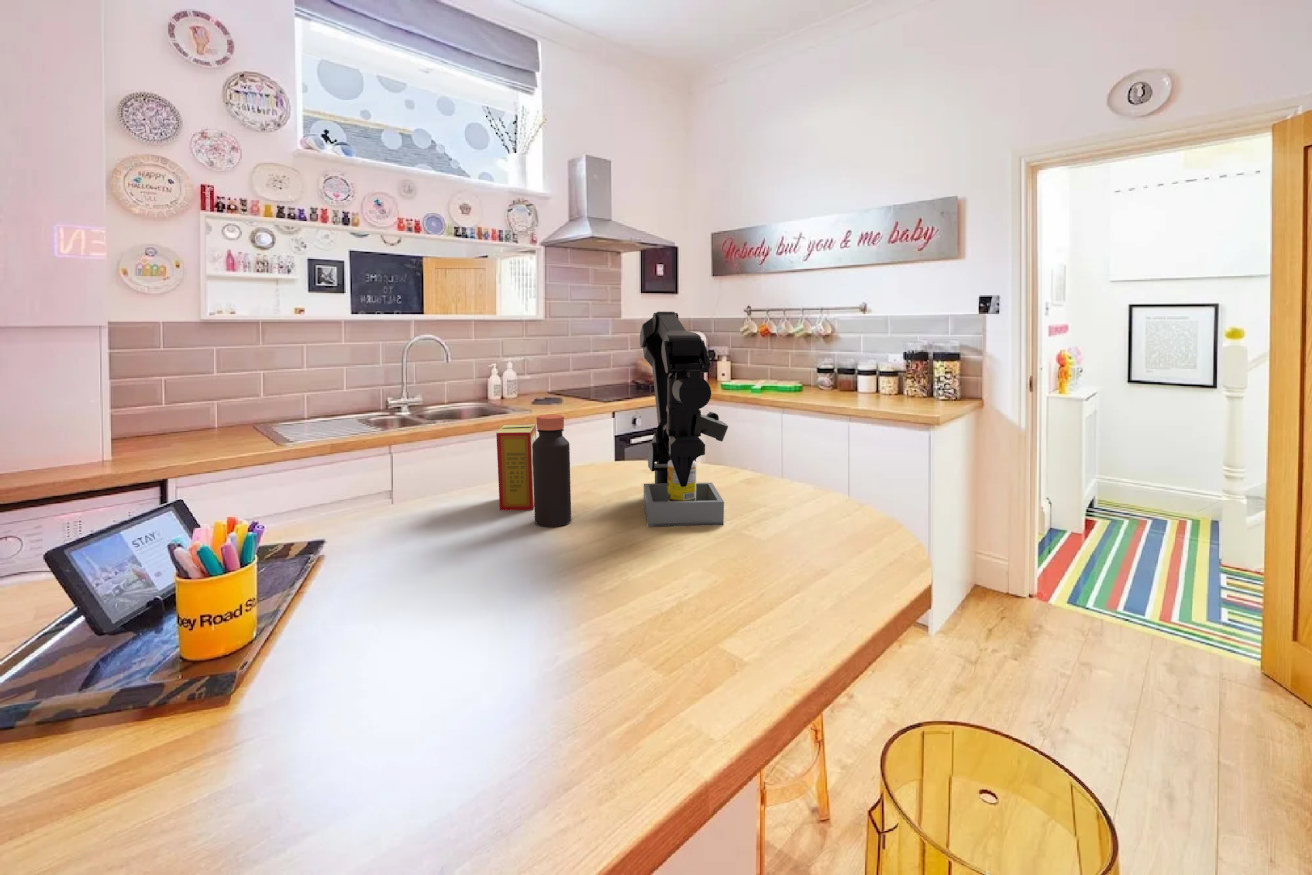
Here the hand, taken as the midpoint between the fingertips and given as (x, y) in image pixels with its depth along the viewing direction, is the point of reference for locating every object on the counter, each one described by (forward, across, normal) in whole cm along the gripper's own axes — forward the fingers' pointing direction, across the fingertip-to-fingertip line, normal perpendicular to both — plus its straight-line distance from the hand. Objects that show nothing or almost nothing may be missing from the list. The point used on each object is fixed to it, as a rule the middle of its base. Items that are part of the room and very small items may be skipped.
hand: (681, 482), depth 126 cm
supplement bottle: (+4, 0, 0) cm, 4 cm away
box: (+6, 0, 0) cm, 6 cm away
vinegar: (+7, -3, +24) cm, 26 cm away
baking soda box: (+7, +10, +32) cm, 35 cm away
